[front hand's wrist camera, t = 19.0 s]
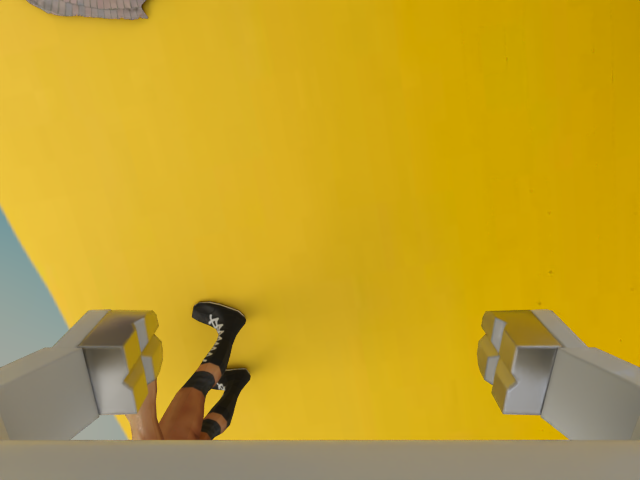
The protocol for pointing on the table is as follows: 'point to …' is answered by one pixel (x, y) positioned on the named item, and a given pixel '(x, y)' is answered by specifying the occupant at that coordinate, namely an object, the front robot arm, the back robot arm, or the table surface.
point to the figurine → (198, 387)
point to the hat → (93, 8)
